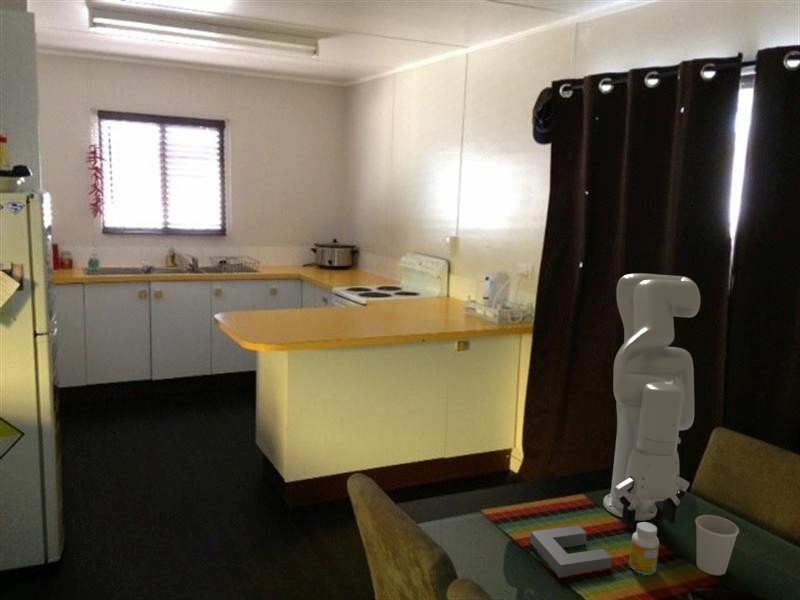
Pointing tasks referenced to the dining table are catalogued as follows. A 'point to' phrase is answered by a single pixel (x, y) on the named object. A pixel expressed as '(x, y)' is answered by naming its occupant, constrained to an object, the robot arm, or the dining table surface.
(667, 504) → the robot arm
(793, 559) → the dining table surface
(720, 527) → the dixie cup
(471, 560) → the dining table surface
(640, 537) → the supplement bottle
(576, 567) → the side entry holder
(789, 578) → the dining table surface
